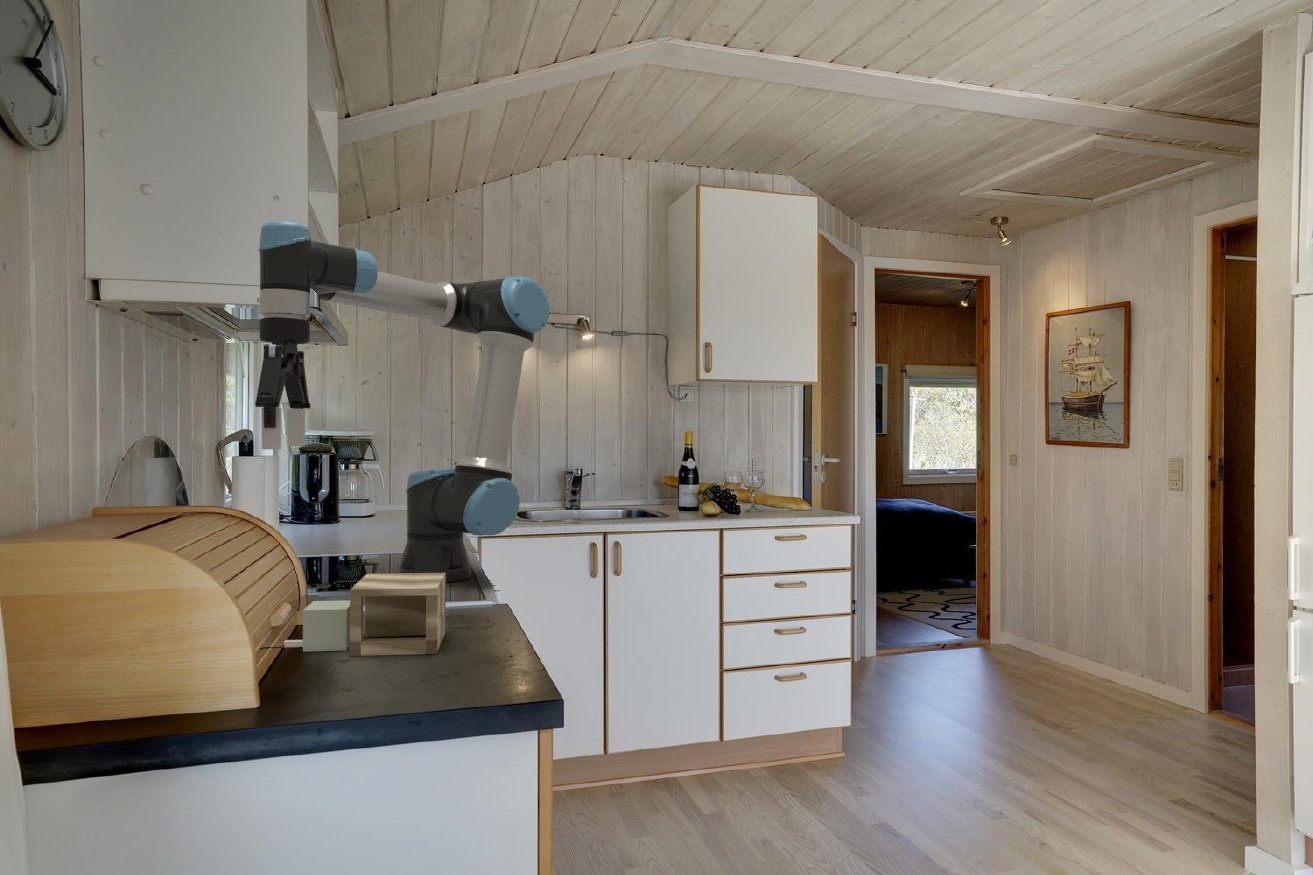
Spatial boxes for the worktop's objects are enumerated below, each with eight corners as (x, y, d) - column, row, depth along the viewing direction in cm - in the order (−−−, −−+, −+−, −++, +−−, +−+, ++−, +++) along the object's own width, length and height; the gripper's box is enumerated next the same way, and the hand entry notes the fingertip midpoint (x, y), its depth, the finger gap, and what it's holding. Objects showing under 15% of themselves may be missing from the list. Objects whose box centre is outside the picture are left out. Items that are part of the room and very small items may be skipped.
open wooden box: (366, 634, 129) (367, 573, 129) (445, 632, 131) (445, 572, 130) (349, 655, 117) (350, 589, 117) (436, 653, 119) (437, 588, 119)
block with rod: (250, 642, 123) (250, 569, 123) (354, 639, 126) (355, 567, 126) (236, 653, 117) (236, 576, 117) (346, 650, 120) (346, 575, 120)
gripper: (283, 326, 147) (283, 445, 147) (233, 307, 122) (232, 450, 123) (327, 327, 148) (327, 445, 148) (286, 309, 123) (286, 450, 124)
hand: (284, 448), depth 135 cm, fingers open, 13 cm apart
